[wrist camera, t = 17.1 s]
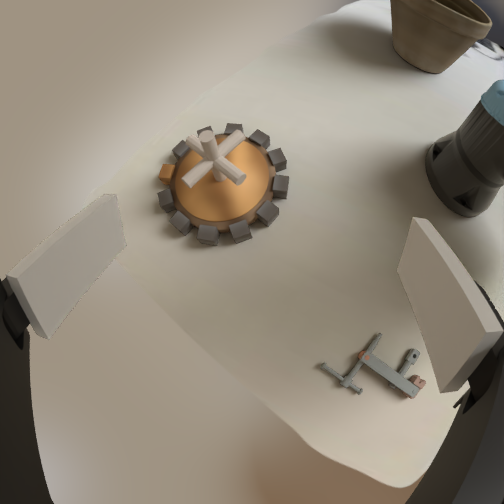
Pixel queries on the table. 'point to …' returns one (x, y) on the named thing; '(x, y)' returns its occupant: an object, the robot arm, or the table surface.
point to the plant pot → (436, 31)
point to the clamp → (384, 371)
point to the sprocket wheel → (225, 189)
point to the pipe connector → (214, 158)
